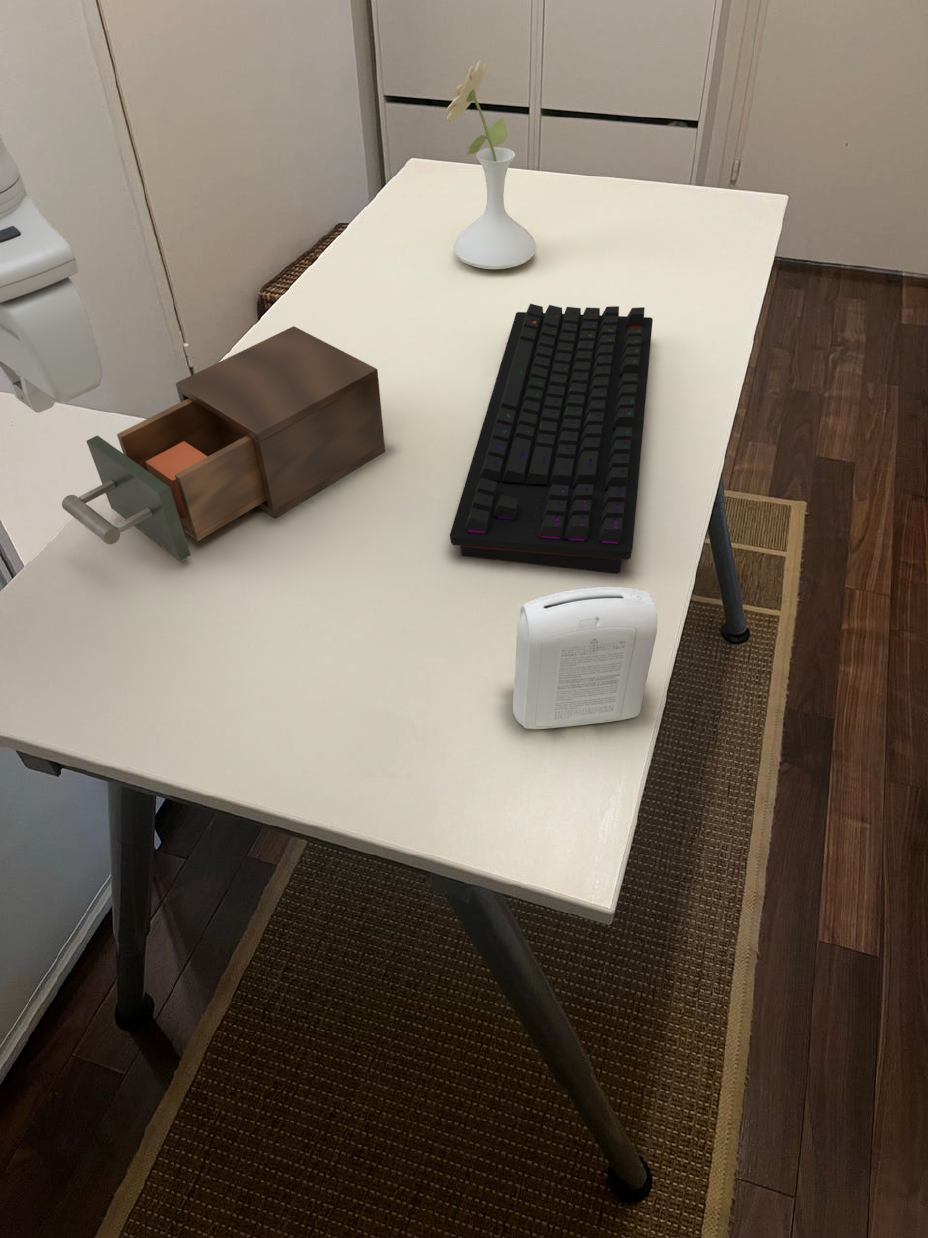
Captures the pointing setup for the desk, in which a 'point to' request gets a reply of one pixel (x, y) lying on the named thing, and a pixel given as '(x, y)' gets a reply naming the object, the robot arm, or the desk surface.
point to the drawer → (205, 487)
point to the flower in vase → (490, 193)
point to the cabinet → (296, 412)
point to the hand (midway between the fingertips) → (36, 403)
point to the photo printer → (583, 657)
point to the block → (174, 468)
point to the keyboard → (560, 443)
